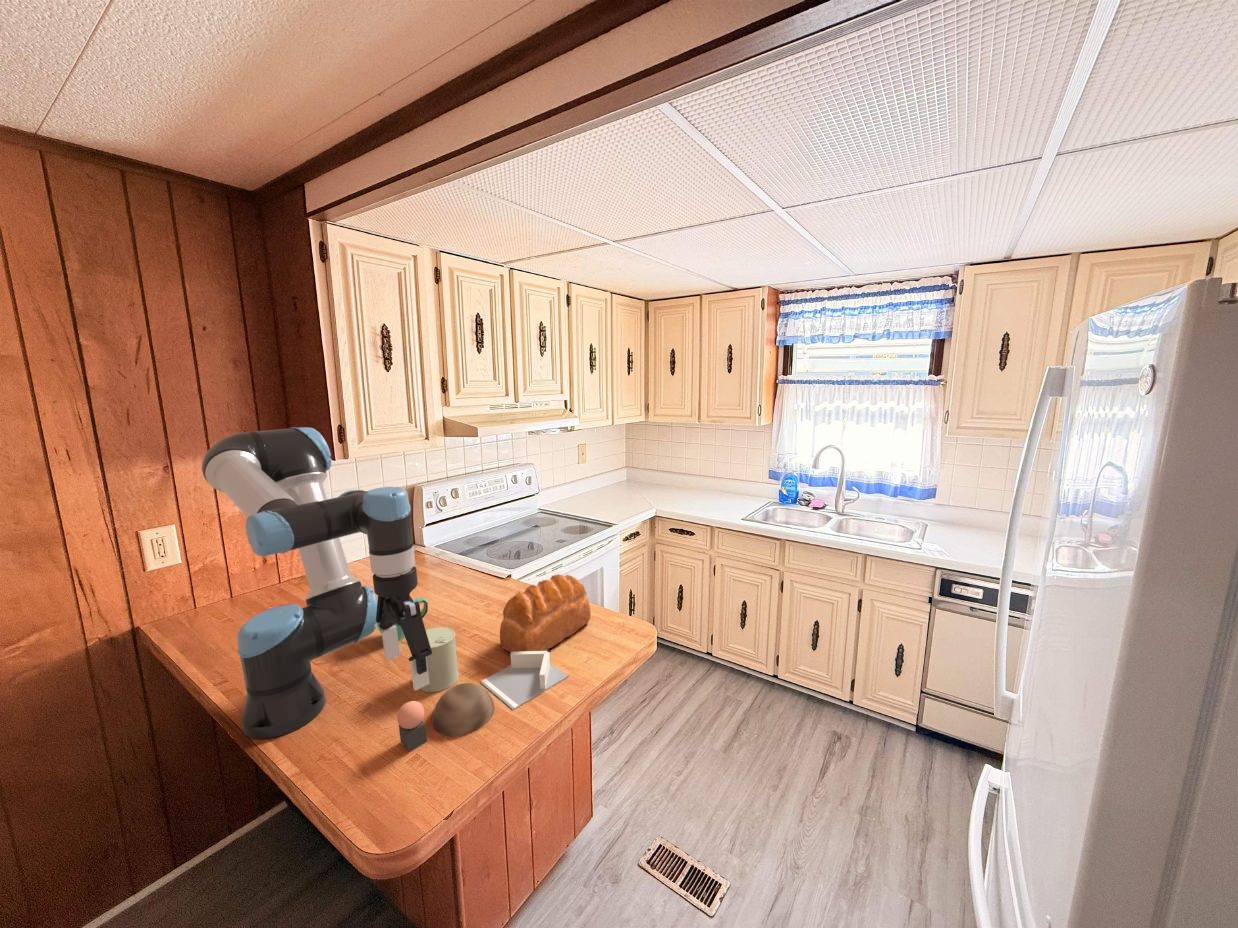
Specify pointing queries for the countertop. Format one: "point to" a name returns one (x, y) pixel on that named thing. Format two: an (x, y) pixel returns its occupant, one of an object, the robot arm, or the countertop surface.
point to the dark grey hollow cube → (413, 736)
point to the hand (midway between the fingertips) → (406, 671)
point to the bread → (544, 614)
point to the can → (441, 659)
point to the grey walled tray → (524, 678)
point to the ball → (410, 715)
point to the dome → (462, 710)
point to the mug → (399, 629)
